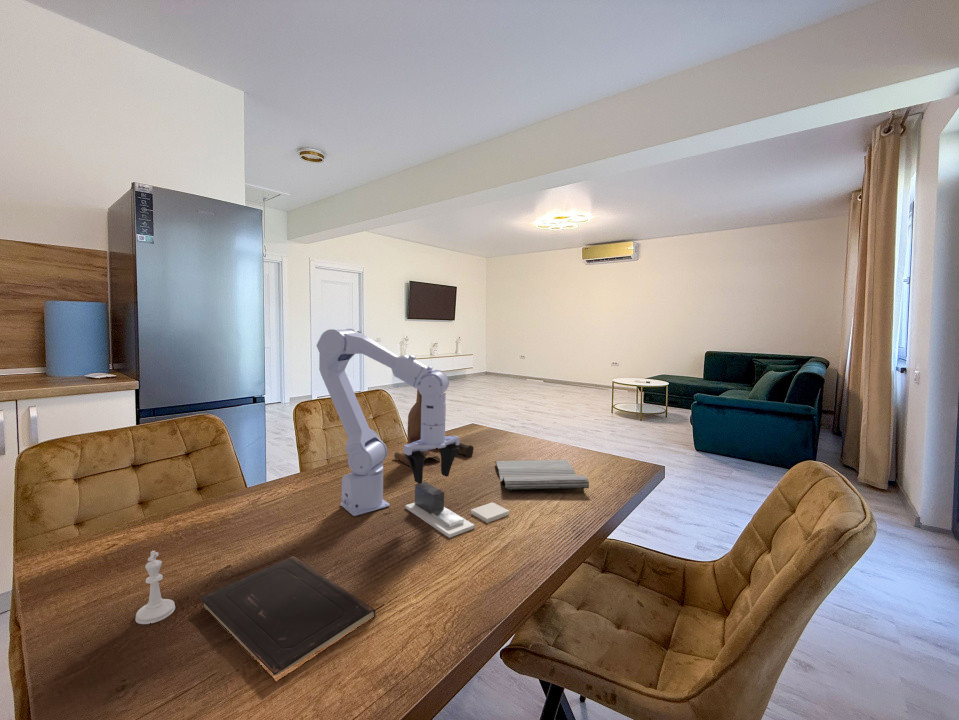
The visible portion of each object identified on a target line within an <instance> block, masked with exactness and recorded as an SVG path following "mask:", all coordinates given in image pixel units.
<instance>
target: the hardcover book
mask: <svg viewBox="0 0 959 720" xmlns="http://www.w3.org/2000/svg"><path fill="white" fill-rule="evenodd" d="M199 599H200V600H201V602H202V603H203V608H204V609H205V610H206V611H207V610H208V611H209V612H210V613H211V614H212V615H213V616H214V617H215V618H216V619H217V620H218V621H219V622H220V623H221V624H222V625H223V626H224V627H225V628H226V629H227V630H228V631H229V632H230V633H231V634H232V635H233V636H234V637H235V638H236V639H237V640H238V641H239V642H240V643H241V644H242V645H243V646H244V647H245V648H246V649H247V650H248V651H249V652H251V654H253V656H255V657H256V658H257V659H258V660H260V661H261V662H262V663H263V664H264V665H265V666H266V667H267V668H268V669H269V670H270V671H271V672H272V673H273V675H278V674H280V673H281V672H283V671H285V670H286V669H287V668H288V669H289V667H291V666H293V665H295V664H297V663H299V662H300V661H302V660H303V659H304V658H306V657H308V656H309V655H311V654H313V653H314V652H315V651H317V650H319V649H321V648H323V647H325V646H327V645H328V644H330V643H331V642H334V641H335V640H337V639H338V638H340V637H341V636H343V635H345V634H346V633H347V632H349V631H351V630H352V629H354V628H355V627H357V626H359V625H360V624H362V623H364V622H365V621H367V620H368V619H370V618H372V617H373V616H374V617H375V618H376V609H375V608H373V607H372V606H370V605H369V604H367V603H365V602H364V601H362V599H360V598H359V597H357V596H355V595H353V593H350V592H349V591H348V590H346V589H345V588H343V587H342V586H340V585H339V584H337V583H335V582H334V581H333V580H331V579H330V578H329V577H326V576H325V575H324V574H322V573H321V572H318V571H317V570H316V569H315V568H313V567H311V566H310V565H308V564H307V563H305V562H304V561H302V560H300V559H299V558H298V557H296V556H290V557H288V558H285V559H284V560H282V561H279V562H277V563H275V564H272V565H270V566H268V567H266V568H263V569H261V570H259V571H256V572H253V574H249V575H247V576H245V577H243V578H240V579H239V580H237V581H236V580H235V581H234V582H231V583H230V584H227V585H225V586H223V587H220V588H219V589H218V588H217V589H216V590H214V591H212V592H209V593H207V594H204V595H202V596H200V597H199ZM208 611H207V612H208ZM209 612H208V613H209ZM210 613H209V614H210ZM211 614H210V615H211ZM212 615H211V616H212ZM213 616H212V617H213ZM214 617H213V618H214ZM215 618H214V619H215ZM216 619H215V620H216ZM217 620H216V621H217ZM218 621H217V622H218ZM219 622H218V623H219ZM220 623H219V624H220ZM221 624H220V625H221ZM222 625H221V626H222ZM223 626H222V627H223ZM224 627H223V628H224ZM225 628H224V629H225ZM226 629H225V630H226ZM227 630H226V631H227ZM228 631H227V632H228ZM229 632H228V633H229Z"/></svg>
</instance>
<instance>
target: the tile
mask: <svg viewBox="0 0 959 720" xmlns="http://www.w3.org/2000/svg"><path fill="white" fill-rule="evenodd" d="M470 514H471V515H472V516H474V517H476V518H477V519H479V520H480V521H483V522H485V523H487V524H489V523H491V522H493V521H497V520H499V519H501V518H505V517H507V516H509V515H510V510H509V509H506V508H505V507H503V506H501V505H499V504H498V503H495V502H489V503H486V504H483V505H481V506H477V507H474V508H471V509H470Z"/></svg>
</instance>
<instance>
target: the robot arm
mask: <svg viewBox="0 0 959 720" xmlns="http://www.w3.org/2000/svg"><path fill="white" fill-rule="evenodd" d="M316 348H317V350H318V353H319V354H318V355H319V356H318V357H319V359H318V360H319V361H318V362H319V368H318V369H319V372H320V376H321V378H322V381H323V382H324V385H325V387H326V390H327V392H328V394H329V396H330V399H331V401H332V404H333V405H334V408H335V410H336V413H337V415H338V417H339V419H340V422H341V425H342V426H343V429H344V431H345V432H344V433H345V434H346V436H347V441H346V445H345V451H346V453H347V464H348V467H349V469H350V470H351V472H349V473H347V474H345V475H343V476H342V478H341V502H340V506H341V507H342V508H343V509H345V510H346V511H347V512H348V513H349V514H351V516H353V517H357V516H360V515H364V514H368V513H371V512H374V511H376V510H380V509H384V508H389V507H390V505H391V504H390V503H389V502H387V501H386V500H385V499H384V464H383V461H385V460H386V458H387V456H388V448H387V445H386V443H385V442H384V441H383V440H381V439H380V437H379V436H378V433H377V432H376V431H375V430H373V429H371V428H370V426H369V424H368V422H367V420H366V417H365V415H364V414H365V413H364V411H363V410H362V407H361V406H360V403H359V401H358V398H357V396H356V393H355V391H354V390H353V389H354V388H353V386H352V384H351V382H350V380H349V378H348V374H347V373H346V368H347V366H348V363H349V361H350V360H352V357H354V356H355V355H356V354H358V355H360V354H361V355H364V356H365V357H366V356H367V357H368V358H370V359H372V360H373V361H376V362H378V363H381V364H382V365H384V366H386V367H388V368H390V369H391V371H392V375H393V376H394V377H396V378H397V379H398V380H400V381H402V382H404V383H406V384H407V385H409V386H411V387H413V388H414V389H416V390H417V388H418V390H419V393H420V394H421V395H422V403H421V440H418V441H415V442H413V443H410V444H404V445H403V450H404V453H405V455H406V457H407V459H408V461H409V463H410V465H411V467H410V468H411V470H412V473H413V474H412V475H413V478H414V482H415V483H417V484H420V483H423V473H424V464H425V460H426V459H427V457H426V456H425V457H424V456H422V453H420V452H421V451H426V450H429V451H430V450H435V449H436V448H439V449H438V450H439V454H440V458H441V461H440V472H441V475H442V476H444V477H446V478H447V477H449V475H450V472H451V469H452V466H453V463H454V460H455V458H456V457H457V455H458V454H459V453H458V452H459V448H458V447H456V445H459V443H460V436H457V435H449V436H447V435H446V412H447V411H446V410H447V407H446V405H447V403H446V397H447V396H446V391H447V390H448V388H449V384H450V381H449V378H448V376H447V374H445V373H444V372H443V371H442V370H439V369H435V370H433V368H434V367H433V366H431V365H425V364H423V363H421V362H420V361H418V360H417V359H416V356H415V355H413V354H410V355H407V354H403V355H401V356H399V355H397V354H395V353H394V352H392V351H390V350H389V349H387V348H386V347H384V346H383V345H381V344H380V343H378V342H377V341H375V340H374V339H371V337H368V336H367V335H365V333H361V332H358V331H357V330H355V329H353V328H345V329H332V328H330V329H327V330H325V331H323V332H322V334H320V337H319V339H318V341H317V343H316ZM436 450H437V449H436ZM410 465H409V466H410Z"/></svg>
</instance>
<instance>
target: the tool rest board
mask: <svg viewBox="0 0 959 720" xmlns="http://www.w3.org/2000/svg"><path fill="white" fill-rule="evenodd" d="M444 508H446V509H448V508H447V507H445V506H444ZM405 509H406V510H407V511H409V512H411V513H412V514H413V515H415V516H416V517H418V518H420V520H423V522H425V523H427V524H428V525H430V526H431V527H432V528H434V529H435V530H437V531H438V532H440V533H441V534H443V536H446V537H448V538H450V539H451V538H453V537H455V536H458V535H461V534H464V533H465V532H466V533H467V532H469V531H471V530H473V529H475V528H476V527H475V524H474V523H472V522H471V521H469V520H468V519H466V518H464V517H463V516H461V515H459V514H457V513H455V512H454V511H452V510H450V509H448V510H450V511H451V512H453V513H455V514H456V515H458V516H460V517H461V518H463V519H464V523H463V524H460V525H458V526H455V527H452V528H448V527H446V526H445V525H443V524H442V523H440V522H439V521H437V520H436V519H434V518H433V517H431V514H429V513H428V512H426V511H424V510H423V509H421V508H420V507H418V506H417V505H415V501H414V502H412V503H409V504H405Z"/></svg>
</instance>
